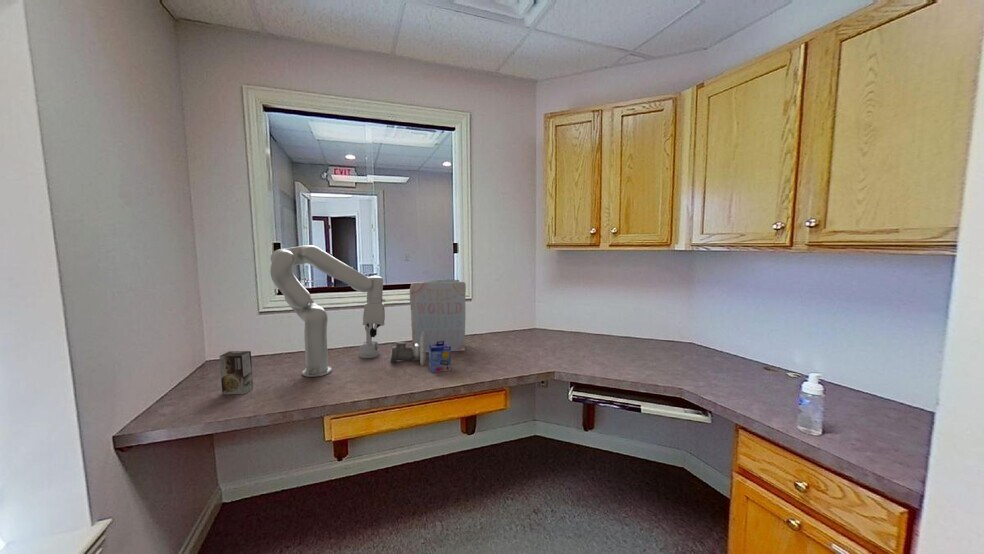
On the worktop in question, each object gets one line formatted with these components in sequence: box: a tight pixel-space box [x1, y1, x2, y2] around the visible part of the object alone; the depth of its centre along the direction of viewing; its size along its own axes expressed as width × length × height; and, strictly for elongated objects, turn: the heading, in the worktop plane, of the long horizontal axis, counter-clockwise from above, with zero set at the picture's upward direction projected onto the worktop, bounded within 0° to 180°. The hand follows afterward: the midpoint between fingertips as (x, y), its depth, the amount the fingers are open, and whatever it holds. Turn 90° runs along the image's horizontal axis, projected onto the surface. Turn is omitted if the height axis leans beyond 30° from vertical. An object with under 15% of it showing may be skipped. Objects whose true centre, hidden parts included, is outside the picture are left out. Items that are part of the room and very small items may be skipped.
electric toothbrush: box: [358, 323, 380, 359], centre depth 208 cm, size 11×20×10 cm
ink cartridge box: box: [428, 341, 452, 373], centre depth 185 cm, size 10×6×14 cm, turn 111°
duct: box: [413, 331, 427, 366], centre depth 199 cm, size 14×5×14 cm, turn 5°
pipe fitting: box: [389, 341, 414, 363], centre depth 198 cm, size 12×8×10 cm, turn 103°
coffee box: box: [218, 350, 254, 395], centre depth 157 cm, size 9×6×16 cm
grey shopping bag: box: [409, 279, 467, 353], centre depth 222 cm, size 17×31×40 cm, turn 101°
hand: (373, 336), depth 196 cm, fingers closed
